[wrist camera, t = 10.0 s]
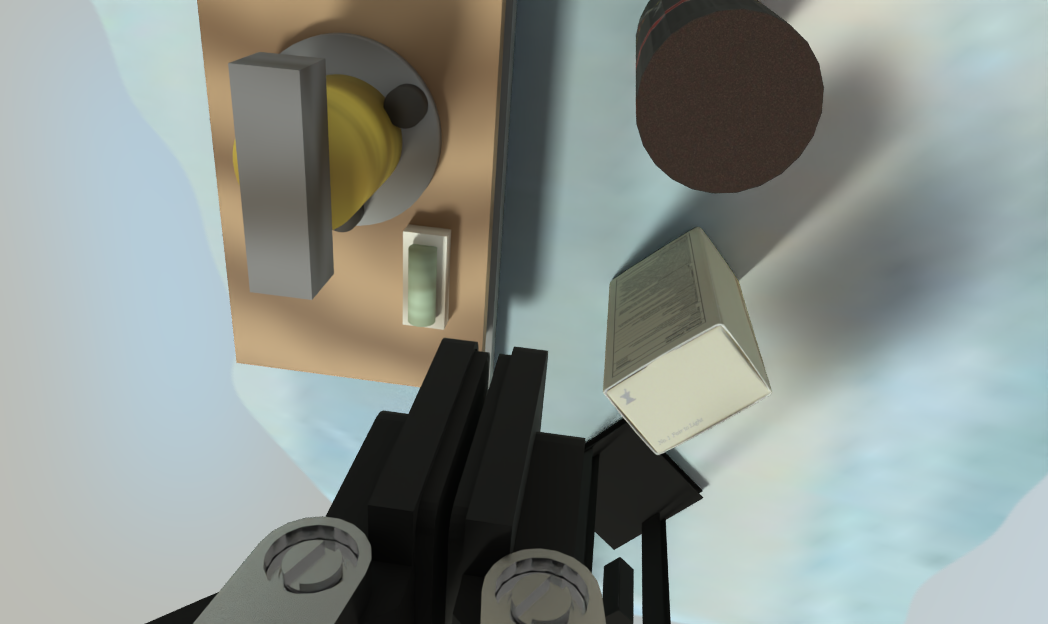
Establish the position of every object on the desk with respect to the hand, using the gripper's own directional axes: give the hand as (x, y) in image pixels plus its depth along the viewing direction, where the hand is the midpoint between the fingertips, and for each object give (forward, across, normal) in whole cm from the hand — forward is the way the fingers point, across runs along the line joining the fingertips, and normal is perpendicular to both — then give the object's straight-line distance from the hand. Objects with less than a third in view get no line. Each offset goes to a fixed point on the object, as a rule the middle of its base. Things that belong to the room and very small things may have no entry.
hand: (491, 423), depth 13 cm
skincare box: (+31, -6, +11) cm, 34 cm away
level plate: (+27, +11, +6) cm, 30 cm away
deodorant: (+31, -5, -2) cm, 32 cm away
